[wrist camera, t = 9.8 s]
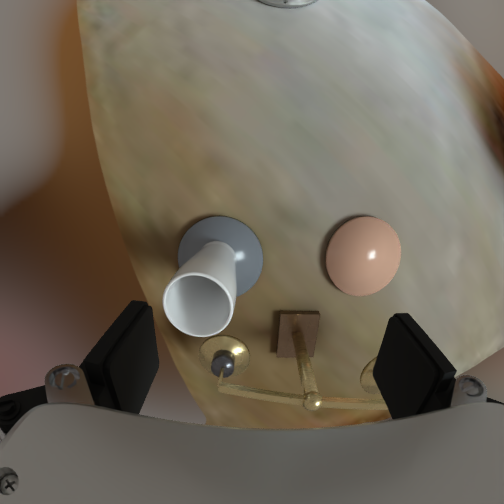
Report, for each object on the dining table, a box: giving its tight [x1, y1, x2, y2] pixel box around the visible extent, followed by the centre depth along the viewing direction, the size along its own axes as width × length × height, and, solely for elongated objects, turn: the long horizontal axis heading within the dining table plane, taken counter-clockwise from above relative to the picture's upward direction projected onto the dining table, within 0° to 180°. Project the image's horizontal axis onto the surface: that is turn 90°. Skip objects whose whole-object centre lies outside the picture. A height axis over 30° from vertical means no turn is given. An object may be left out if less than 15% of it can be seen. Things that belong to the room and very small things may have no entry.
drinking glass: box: [163, 241, 237, 337], centre depth 32 cm, size 7×7×15 cm
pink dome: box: [325, 216, 401, 296], centre depth 40 cm, size 12×12×1 cm
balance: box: [199, 311, 388, 411], centre depth 35 cm, size 8×29×18 cm, turn 88°
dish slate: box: [178, 216, 263, 297], centre depth 40 cm, size 12×12×1 cm
